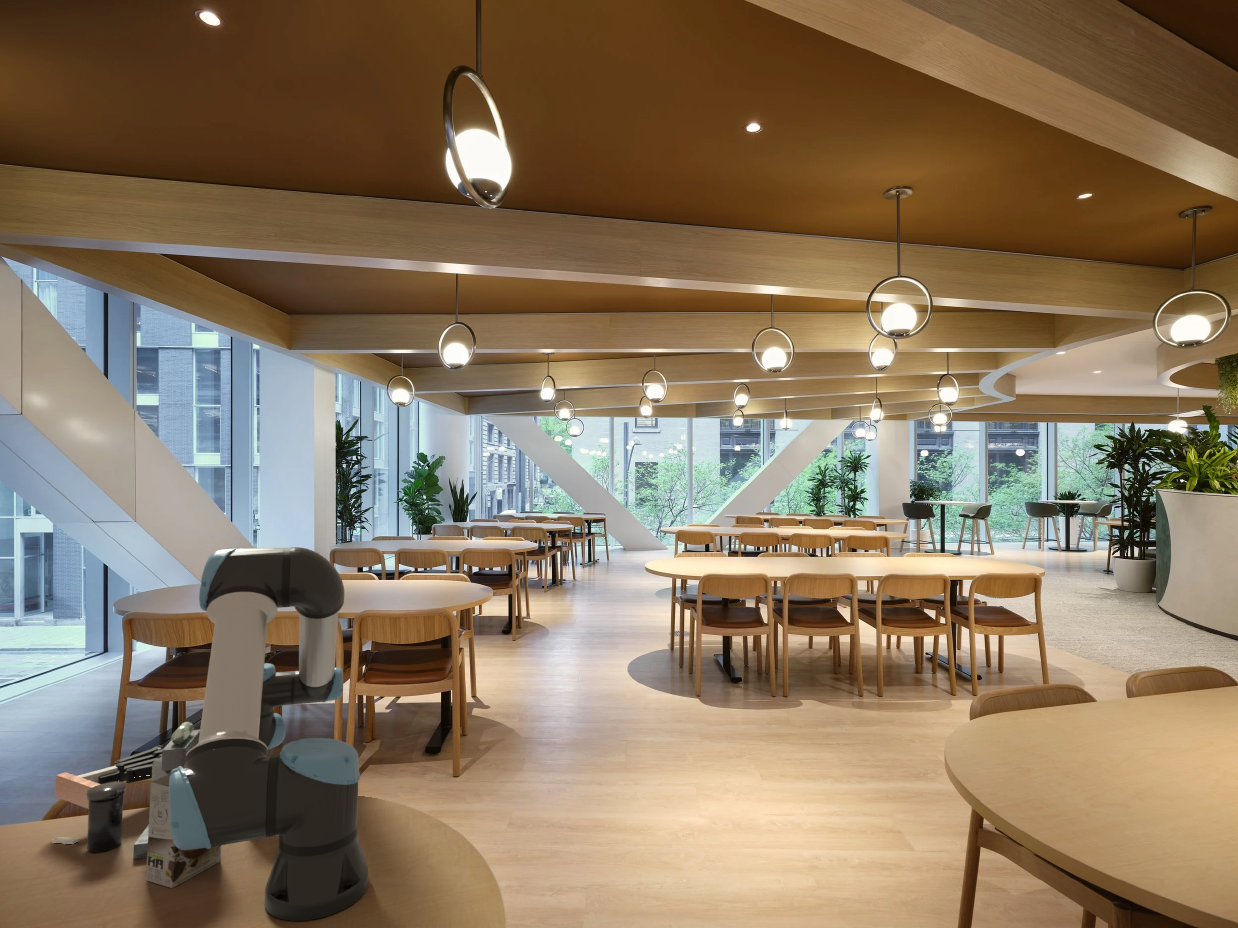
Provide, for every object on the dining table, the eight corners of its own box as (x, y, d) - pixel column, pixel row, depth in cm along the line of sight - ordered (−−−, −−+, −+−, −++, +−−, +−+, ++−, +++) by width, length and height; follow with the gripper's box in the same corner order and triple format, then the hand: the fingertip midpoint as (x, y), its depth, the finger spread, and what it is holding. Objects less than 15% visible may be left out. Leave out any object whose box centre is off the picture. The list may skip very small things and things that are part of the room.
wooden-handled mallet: (130, 841, 127) (132, 785, 127) (96, 855, 122) (98, 797, 122) (75, 819, 135) (77, 767, 135) (41, 832, 130) (43, 777, 130)
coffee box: (173, 889, 113) (176, 787, 113) (144, 881, 115) (148, 781, 116) (222, 861, 121) (225, 766, 122) (195, 853, 124) (198, 760, 124)
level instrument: (205, 850, 125) (208, 733, 125) (133, 859, 122) (137, 739, 122) (220, 821, 135) (223, 714, 136) (154, 829, 132) (158, 719, 133)
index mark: (78, 841, 127) (78, 838, 127) (72, 844, 126) (72, 841, 126) (57, 839, 128) (57, 836, 128) (51, 843, 127) (51, 839, 127)
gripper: (222, 773, 147) (87, 814, 128) (195, 758, 155) (63, 795, 136) (223, 737, 147) (88, 773, 129) (196, 723, 155) (64, 756, 136)
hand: (75, 784), depth 132 cm, fingers closed
